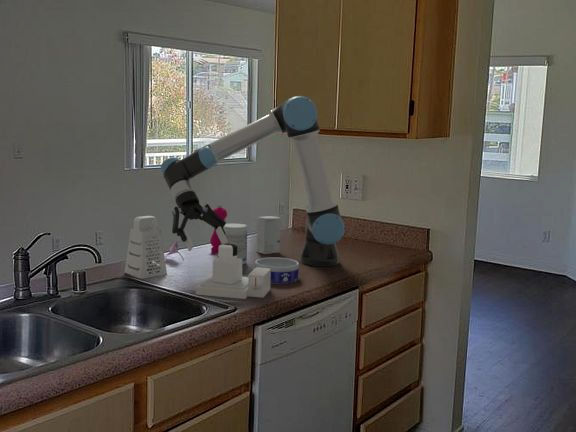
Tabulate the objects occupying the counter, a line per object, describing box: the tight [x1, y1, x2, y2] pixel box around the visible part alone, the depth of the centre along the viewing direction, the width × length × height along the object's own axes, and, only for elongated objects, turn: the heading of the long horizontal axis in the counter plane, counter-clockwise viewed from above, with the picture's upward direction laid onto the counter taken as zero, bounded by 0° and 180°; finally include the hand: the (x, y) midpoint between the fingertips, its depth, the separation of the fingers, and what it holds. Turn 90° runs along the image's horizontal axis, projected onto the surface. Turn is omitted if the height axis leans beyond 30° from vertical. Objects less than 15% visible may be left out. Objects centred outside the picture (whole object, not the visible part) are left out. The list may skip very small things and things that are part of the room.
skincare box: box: [256, 215, 282, 255], centre depth 267 cm, size 8×6×15 cm
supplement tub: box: [223, 223, 248, 266], centre depth 245 cm, size 10×10×15 cm
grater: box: [124, 215, 168, 280], centre depth 225 cm, size 10×10×20 cm
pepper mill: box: [210, 203, 228, 255], centre depth 263 cm, size 7×7×20 cm
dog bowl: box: [254, 256, 300, 285], centre depth 226 cm, size 15×15×6 cm
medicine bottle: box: [212, 243, 243, 285], centre depth 208 cm, size 7×7×12 cm
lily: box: [164, 236, 185, 261], centre depth 247 cm, size 12×12×10 cm
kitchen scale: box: [195, 267, 271, 300], centre depth 208 cm, size 21×16×7 cm
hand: (208, 246), depth 217 cm, fingers open, 13 cm apart
